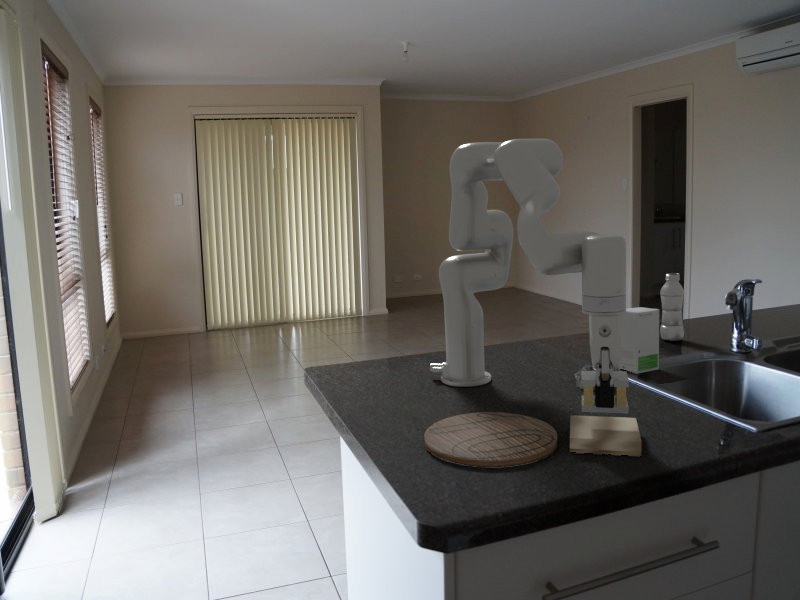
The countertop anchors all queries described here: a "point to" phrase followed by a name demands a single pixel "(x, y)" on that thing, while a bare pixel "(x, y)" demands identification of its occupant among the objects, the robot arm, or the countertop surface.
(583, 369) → the egg carton
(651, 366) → the skincare box
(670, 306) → the plastic bottle
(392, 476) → the countertop surface
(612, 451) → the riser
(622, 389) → the block
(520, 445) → the trivet
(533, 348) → the countertop surface
